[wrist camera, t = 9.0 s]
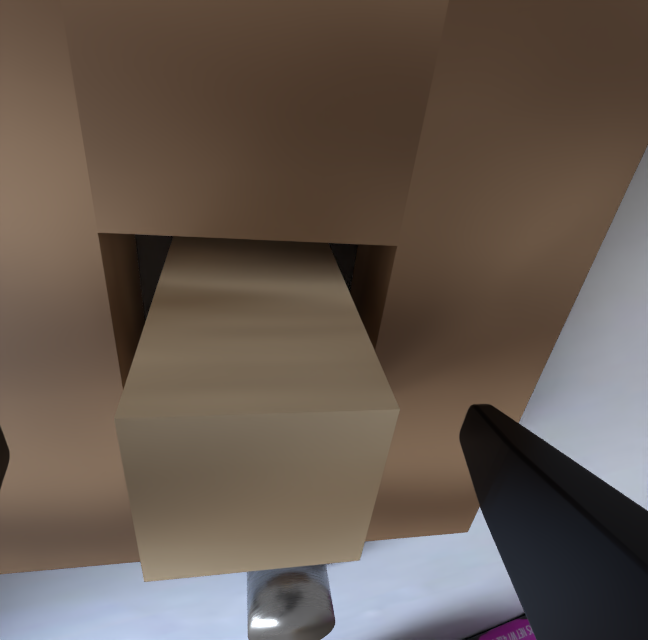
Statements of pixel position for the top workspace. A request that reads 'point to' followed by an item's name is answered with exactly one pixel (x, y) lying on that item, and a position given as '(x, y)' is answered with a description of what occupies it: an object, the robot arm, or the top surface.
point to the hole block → (299, 212)
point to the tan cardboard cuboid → (252, 413)
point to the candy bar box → (509, 631)
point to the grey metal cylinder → (289, 603)
